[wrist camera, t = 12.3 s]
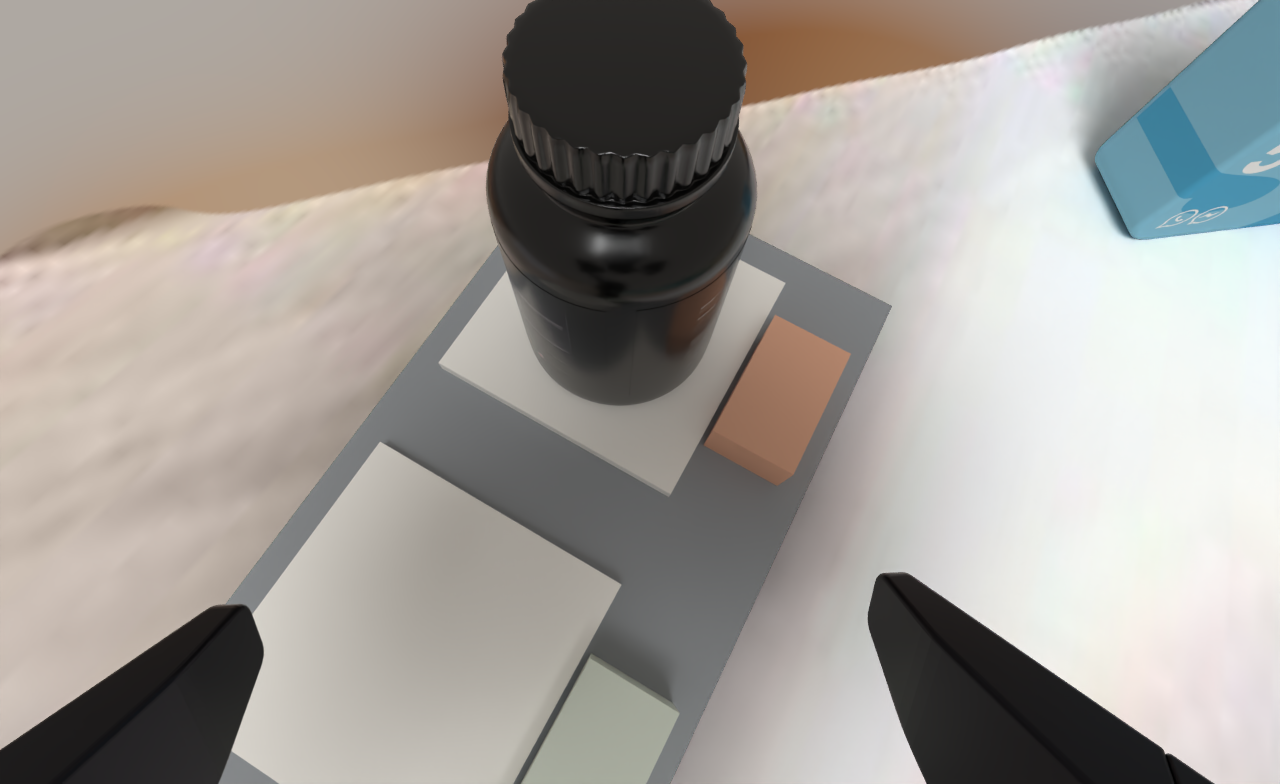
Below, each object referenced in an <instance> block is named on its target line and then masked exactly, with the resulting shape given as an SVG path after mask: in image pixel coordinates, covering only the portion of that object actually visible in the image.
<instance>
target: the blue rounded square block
mask: <svg viewBox="0 0 1280 784" xmlns="http://www.w3.org/2000/svg"><path fill="white" fill-rule="evenodd" d="M1095 163H1096V165H1097V167H1098V169H1099V171H1100V173H1101V175H1102V177H1103V179H1104V181H1105V184H1106V186H1107V188H1108V190H1109V192H1110V194H1111V196H1112V198H1113V200H1114V202H1115V204H1116V206H1117V208H1118V210H1119V212H1120V214H1121V216H1122V218H1123V220H1124V223H1125V225H1126V227H1127V229H1128V231H1129V233H1130V235H1131V236H1132V237H1134V238H1136V239H1154V238H1163V237H1171V236H1179V235H1188V234H1196V233H1204V232H1213V231H1221V230H1229V229H1237V228H1246V227H1254V226H1262V225H1271V224H1279V223H1280V0H1259V1H1258V2H1257V3H1256V4H1255V5H1254V6H1252V7H1251V8H1250V9H1249V10H1248V11H1247V12H1246V13H1245V14H1244V15H1243V16H1242V17H1241V18H1239V19H1238V20H1237V21H1236V22H1235V23H1234V24H1233V25H1232V26H1231V27H1230V28H1229V29H1227V30H1226V31H1225V32H1224V33H1223V34H1222V35H1221V36H1220V37H1219V38H1218V39H1217V40H1215V41H1214V42H1213V43H1212V44H1211V45H1210V46H1209V47H1208V48H1207V49H1206V50H1205V51H1204V52H1202V53H1201V54H1200V55H1199V56H1198V57H1197V58H1196V59H1195V60H1194V61H1193V62H1192V63H1190V64H1189V65H1188V66H1187V67H1186V68H1185V69H1184V70H1183V71H1182V72H1181V73H1180V74H1178V75H1177V76H1176V77H1175V78H1174V79H1173V80H1172V81H1171V82H1170V83H1169V84H1168V85H1167V86H1165V87H1164V88H1163V89H1162V90H1161V91H1160V92H1159V93H1158V94H1157V95H1156V96H1155V97H1153V98H1152V99H1151V100H1150V101H1149V102H1148V103H1147V104H1146V105H1145V106H1144V107H1143V108H1141V109H1140V110H1139V111H1138V112H1137V113H1136V114H1135V115H1134V116H1133V117H1132V118H1131V119H1130V120H1128V121H1127V122H1126V123H1125V124H1124V125H1123V126H1122V127H1121V128H1120V129H1119V130H1118V131H1116V132H1115V133H1114V134H1113V135H1112V136H1111V137H1110V138H1109V139H1108V140H1107V141H1106V142H1105V143H1104V144H1103V145H1102V146H1101V147H1100V148H1099V150H1098V151H1097V153H1096V156H1095Z"/></svg>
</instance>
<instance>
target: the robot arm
mask: <svg viewBox="0 0 1280 784" xmlns="http://www.w3.org/2000/svg"><path fill="white" fill-rule="evenodd" d="M868 626H869V630H870V633H871V636H872V639H873V642H874V645H875V648H876V651H877V654H878V657H879V660H880V663H881V666H882V669H883V672H884V675H885V678H886V681H887V684H888V688H889V691H890V694H891V697H892V700H893V703H894V706H895V709H896V712H897V715H898V717H899V720H900V723H901V726H902V728H903V731H904V734H905V736H906V738H907V741H908V743H909V745H910V748H911V750H912V752H913V755H914V757H915V759H916V761H917V764H918V766H919V768H920V770H921V772H922V775H923V777H924V779H925V781H926V784H1214V783H1213V782H1211V781H1210V780H1208V779H1207V778H1205V777H1204V776H1202V775H1201V774H1199V773H1198V772H1196V771H1195V770H1193V769H1192V768H1191V767H1189V766H1188V765H1186V764H1185V763H1183V762H1182V761H1180V760H1179V759H1177V758H1176V757H1175V756H1173V755H1172V754H1169V753H1168V754H1165V752H1164V750H1163V749H1162V748H1161V747H1160V746H1158V745H1157V744H1155V743H1154V742H1152V741H1151V740H1150V739H1148V738H1147V737H1145V736H1144V735H1142V734H1141V733H1139V732H1138V731H1137V730H1135V729H1134V728H1132V727H1131V726H1129V725H1128V724H1126V723H1125V722H1123V721H1122V720H1121V719H1119V718H1118V717H1116V716H1115V715H1113V714H1112V713H1110V712H1109V711H1108V710H1106V709H1105V708H1103V707H1102V706H1100V705H1099V704H1097V703H1096V702H1094V701H1093V700H1092V699H1090V698H1089V697H1087V696H1086V695H1084V694H1083V693H1081V692H1080V691H1078V690H1077V689H1076V688H1074V687H1073V686H1071V685H1070V684H1068V683H1067V682H1065V681H1064V680H1063V679H1061V678H1060V677H1058V676H1057V675H1055V674H1054V673H1052V672H1051V671H1049V670H1048V669H1047V668H1045V667H1044V666H1042V665H1041V664H1039V663H1038V662H1036V661H1035V660H1033V659H1032V658H1031V657H1029V656H1028V655H1026V654H1025V653H1023V652H1022V651H1020V650H1019V649H1018V648H1016V647H1015V646H1013V645H1012V644H1010V643H1009V642H1007V641H1006V640H1004V639H1003V638H1002V637H1000V636H999V635H997V634H996V633H994V632H993V631H991V630H990V629H989V628H987V627H986V626H984V625H983V624H981V623H980V622H978V621H977V620H975V619H974V618H973V617H971V616H970V615H968V614H967V613H965V612H964V611H962V610H961V609H959V608H958V607H957V606H955V605H954V604H952V603H951V602H949V601H948V600H946V599H945V598H944V597H942V596H941V595H939V594H938V593H936V592H935V591H933V590H932V589H930V588H929V587H928V586H926V585H925V584H923V583H922V582H920V581H919V580H917V579H916V578H915V577H913V576H911V575H910V574H908V573H904V572H898V573H882V574H880V575H879V576H878V577H877V578H876V581H875V585H874V589H873V594H872V598H871V602H870V607H869V611H868ZM263 658H264V646H263V642H262V640H261V637H260V634H259V631H258V629H257V626H256V623H255V620H254V618H253V615H252V612H251V610H250V608H249V607H247V606H246V605H244V604H227V605H216V606H212V607H210V608H209V609H207V610H205V611H204V612H202V613H201V614H199V615H198V616H196V617H195V618H194V619H192V620H191V621H189V622H188V623H186V624H185V625H183V626H182V627H180V628H179V629H177V630H176V631H174V632H173V633H171V634H170V635H169V636H167V637H166V638H164V639H163V640H161V641H160V642H158V643H157V644H155V645H154V646H152V647H151V648H149V649H148V650H146V651H145V652H144V653H142V654H141V655H139V656H138V657H136V658H135V659H133V660H132V661H130V662H129V663H127V664H126V665H124V666H123V667H121V668H120V669H119V670H117V671H116V672H114V673H113V674H111V675H110V676H108V677H107V678H105V679H104V680H102V681H101V682H99V683H98V684H96V685H95V686H94V687H92V688H91V689H89V690H88V691H86V692H85V693H83V694H82V695H80V696H79V697H77V698H76V699H74V700H73V701H71V702H70V703H69V704H67V705H66V706H64V707H63V708H61V709H60V710H58V711H57V712H55V713H54V714H52V715H51V716H49V717H48V718H46V719H45V720H44V721H42V722H41V723H39V724H38V725H36V726H35V727H33V728H32V729H30V730H29V731H27V732H26V733H24V734H23V735H21V736H20V737H19V738H17V739H16V740H14V741H13V742H11V743H10V744H8V745H7V746H5V747H4V748H2V749H1V750H0V784H219V781H220V779H221V777H222V774H223V772H224V769H225V767H226V764H227V761H228V759H229V756H230V753H231V751H232V748H233V745H234V742H235V739H236V736H237V734H238V731H239V728H240V725H241V722H242V719H243V717H244V714H245V711H246V708H247V705H248V703H249V700H250V697H251V694H252V691H253V688H254V686H255V683H256V680H257V677H258V674H259V672H260V669H261V666H262V663H263Z"/></svg>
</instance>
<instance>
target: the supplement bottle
mask: <svg viewBox="0 0 1280 784" xmlns="http://www.w3.org/2000/svg"><path fill="white" fill-rule="evenodd" d="M502 62H503V67H504V71H503V83H504V88H505V93H506V98H507V102H508V107H509V120H508V121H507V123H506V124H505V126H504V127H503V129H502V131H501V132H500V134H499V136H498V138H497V140H496V143H495V145H494V148H493V150H492V153H491V157H490V160H489V163H488V170H487V177H486V196H487V204H488V209H489V214H490V218H491V223H492V226H493V229H494V233H495V236H496V239H497V242H498V245H499V248H500V251H501V255H502V258H503V261H504V264H505V267H506V270H507V273H508V276H509V280H510V283H511V286H512V289H513V292H514V295H515V298H516V302H517V305H518V308H519V311H520V314H521V317H522V320H523V323H524V327H525V330H526V333H527V336H528V339H529V341H530V344H531V347H532V349H533V351H534V354H535V356H536V357H537V359H538V361H539V363H540V364H541V366H542V367H543V368H544V370H545V371H546V372H547V373H548V375H549V376H550V377H551V378H552V379H553V380H554V381H555V382H557V383H558V384H559V385H560V386H562V387H563V388H564V389H566V390H567V391H569V392H571V393H572V394H574V395H576V396H578V397H580V398H583V399H586V400H588V401H591V402H595V403H599V404H605V405H614V406H626V405H635V404H640V403H645V402H648V401H651V400H654V399H657V398H659V397H661V396H663V395H665V394H667V393H669V392H671V391H672V390H674V389H675V388H677V387H678V386H679V385H680V384H682V383H683V382H684V381H685V380H686V379H687V378H688V377H689V376H690V375H691V374H692V372H693V371H694V370H695V368H696V367H697V366H698V364H699V362H700V361H701V359H702V357H703V355H704V353H705V351H706V349H707V346H708V344H709V342H710V339H711V336H712V334H713V331H714V328H715V325H716V323H717V320H718V317H719V315H720V312H721V309H722V306H723V304H724V301H725V298H726V296H727V293H728V290H729V287H730V285H731V282H732V279H733V277H734V274H735V271H736V268H737V266H738V263H739V260H740V258H741V255H742V252H743V249H744V247H745V244H746V241H747V238H748V235H749V233H750V230H751V226H752V222H753V218H754V214H755V209H756V201H757V181H756V173H755V169H754V165H753V161H752V157H751V154H750V152H749V149H748V146H747V144H746V142H745V140H744V138H743V136H742V134H741V132H740V131H739V129H738V128H739V113H740V109H741V105H742V102H743V97H744V94H745V89H746V80H745V75H746V71H747V62H746V60H745V58H744V56H743V44H742V43H741V41H740V40H739V39H738V38H737V37H736V28H735V27H734V26H733V25H732V24H731V23H729V22H728V21H727V20H726V16H725V14H724V12H723V11H721V10H719V9H718V8H716V7H714V6H713V4H712V3H711V1H710V0H535V1H533V2H531V3H529V4H528V5H527V7H526V9H525V12H524V13H523V14H521V15H520V16H518V17H517V18H516V19H515V23H514V28H513V29H512V30H511V31H510V32H509V34H508V35H507V47H506V48H505V50H504V52H503V54H502Z"/></svg>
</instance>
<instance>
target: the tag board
mask: <svg viewBox="0 0 1280 784" xmlns="http://www.w3.org/2000/svg"><path fill="white" fill-rule="evenodd" d="M891 307H892V306H891V305H889V304H887V303H885V302H883V301H881V300H879V299H877V298H875V297H873V296H871V295H869V294H867V293H865V292H863V291H861V290H859V289H857V288H855V287H853V286H851V285H849V284H847V283H845V282H843V281H841V280H839V279H837V278H835V277H833V276H831V275H829V274H827V273H825V272H823V271H821V270H819V269H817V268H815V267H814V266H812V265H810V264H808V263H806V262H804V261H802V260H800V259H798V258H796V257H794V256H792V255H790V254H788V253H786V252H784V251H782V250H780V249H778V248H776V247H774V246H772V245H770V244H768V243H766V242H764V241H762V240H760V239H758V238H756V237H754V236H752V235H750V234H749V235H748V238H747V241H746V244H745V247H744V249H743V252H742V255H741V258H740V260H739V263H738V266H737V268H736V271H735V274H734V277H733V279H732V282H731V285H730V287H729V290H728V293H727V296H726V298H725V301H724V304H723V306H722V309H721V312H720V315H719V317H718V320H717V323H716V325H715V328H714V331H713V334H712V336H711V339H710V342H709V344H708V346H707V349H706V351H705V353H704V355H703V357H702V359H701V361H700V362H699V364H698V366H697V367H696V368H695V370H694V371H693V372H692V374H691V375H690V376H689V377H688V378H687V379H686V380H685V381H684V382H683V383H682V384H680V385H679V386H678V387H677V388H675V389H674V390H672V391H671V392H669V393H667V394H665V395H663V396H661V397H659V398H657V399H654V400H651V401H648V402H645V403H640V404H635V405H626V406H614V405H605V404H599V403H595V402H591V401H588V400H586V399H583V398H580V397H578V396H576V395H574V394H572V393H571V392H569V391H567V390H566V389H564V388H563V387H562V386H560V385H559V384H558V383H557V382H555V381H554V380H553V379H552V378H551V377H550V376H549V375H548V373H547V372H546V371H545V370H544V368H543V367H542V366H541V364H540V363H539V361H538V359H537V357H536V356H535V354H534V351H533V349H532V347H531V344H530V341H529V339H528V336H527V333H526V330H525V327H524V323H523V320H522V317H521V314H520V311H519V308H518V305H517V302H516V298H515V295H514V292H513V289H512V286H511V283H510V280H509V276H508V273H507V270H506V267H505V264H504V261H503V258H502V255H501V251H500V248H499V245H498V246H497V247H496V248H495V250H494V251H493V252H492V254H491V255H490V256H489V258H488V259H487V260H486V262H485V263H484V264H483V266H482V267H481V268H480V269H479V271H478V272H477V273H476V275H475V276H474V277H473V279H472V280H471V281H470V283H469V284H468V285H467V287H466V288H465V289H464V291H463V292H462V293H461V295H460V296H459V297H458V298H457V300H456V301H455V302H454V304H453V305H452V306H451V308H450V309H449V310H448V312H447V313H446V314H445V316H444V317H443V318H442V320H441V321H440V322H439V324H438V325H437V326H436V327H435V329H434V330H433V331H432V333H431V334H430V335H429V337H428V338H427V339H426V341H425V342H424V343H423V345H422V346H421V347H420V349H419V350H418V351H417V353H416V354H415V355H414V356H413V358H412V359H411V360H410V362H409V363H408V364H407V366H406V367H405V368H404V370H403V371H402V372H401V374H400V375H399V376H398V378H397V379H396V380H395V382H394V383H393V384H392V385H391V387H390V388H389V389H388V391H387V392H386V393H385V395H384V396H383V397H382V399H381V400H380V401H379V403H378V404H377V405H376V407H375V408H374V409H373V410H372V412H371V413H370V414H369V416H368V417H367V418H366V420H365V421H364V422H363V424H362V425H361V426H360V428H359V429H358V430H357V432H356V433H355V434H354V436H353V437H352V438H351V439H350V441H349V442H348V443H347V445H346V446H345V447H344V449H343V450H342V451H341V453H340V454H339V455H338V457H337V458H336V459H335V461H334V462H333V463H332V465H331V466H330V467H329V468H328V470H327V471H326V472H325V474H324V475H323V476H322V478H321V479H320V480H319V482H318V483H317V484H316V486H315V487H314V488H313V490H312V491H311V492H310V494H309V495H308V496H307V497H306V499H305V500H304V501H303V503H302V504H301V505H300V507H299V508H298V509H297V511H296V512H295V513H294V515H293V516H292V517H291V519H290V520H289V521H288V523H287V524H286V525H285V526H284V528H283V529H282V530H281V532H280V533H279V534H278V536H277V537H276V538H275V540H274V541H273V542H272V544H271V545H270V546H269V548H268V549H267V550H266V552H265V553H264V554H263V555H262V557H261V558H260V559H259V561H258V562H257V563H256V565H255V566H254V567H253V569H252V570H251V571H250V573H249V574H248V575H247V577H246V578H245V579H244V580H243V582H242V583H241V584H240V586H239V587H238V588H237V590H236V591H235V592H234V594H233V595H232V596H231V598H230V599H229V600H228V602H227V603H226V604H225V605H227V604H244V605H246V606H247V607H249V608H250V610H251V612H252V615H253V618H254V620H255V623H256V626H257V629H258V631H259V634H260V637H261V640H262V642H263V646H264V658H263V663H262V666H261V669H260V672H259V674H258V677H257V680H256V683H255V686H254V688H253V691H252V694H251V697H250V700H249V703H248V705H247V708H246V711H245V714H244V717H243V719H242V722H241V725H240V728H239V731H238V734H237V736H236V739H235V742H234V745H233V748H232V751H231V753H230V756H229V759H228V761H227V764H226V767H225V769H224V772H223V774H222V777H221V779H220V781H219V784H670V783H671V781H672V779H673V777H674V774H675V772H676V770H677V768H678V766H679V764H680V762H681V759H682V757H683V755H684V753H685V751H686V749H687V746H688V744H689V742H690V740H691V738H692V736H693V734H694V731H695V729H696V727H697V725H698V723H699V721H700V718H701V716H702V714H703V712H704V710H705V708H706V706H707V703H708V701H709V699H710V697H711V695H712V693H713V690H714V688H715V686H716V684H717V682H718V680H719V678H720V675H721V673H722V671H723V669H724V667H725V665H726V662H727V660H728V658H729V656H730V654H731V652H732V650H733V647H734V645H735V643H736V641H737V639H738V637H739V635H740V632H741V630H742V628H743V626H744V624H745V622H746V619H747V617H748V615H749V613H750V611H751V609H752V607H753V604H754V602H755V600H756V598H757V596H758V594H759V591H760V589H761V587H762V585H763V583H764V581H765V579H766V576H767V574H768V572H769V570H770V568H771V566H772V563H773V561H774V559H775V557H776V555H777V553H778V551H779V548H780V546H781V544H782V542H783V540H784V538H785V535H786V533H787V531H788V529H789V527H790V525H791V523H792V520H793V518H794V516H795V514H796V512H797V510H798V508H799V505H800V503H801V501H802V499H803V497H804V495H805V492H806V490H807V488H808V486H809V484H810V482H811V480H812V477H813V475H814V473H815V471H816V469H817V467H818V464H819V462H820V460H821V458H822V456H823V454H824V452H825V449H826V447H827V445H828V443H829V441H830V439H831V436H832V434H833V432H834V430H835V428H836V426H837V424H838V421H839V419H840V417H841V415H842V413H843V411H844V408H845V406H846V404H847V402H848V400H849V398H850V396H851V393H852V391H853V389H854V387H855V385H856V383H857V381H858V378H859V376H860V374H861V372H862V370H863V368H864V365H865V363H866V361H867V359H868V357H869V355H870V353H871V350H872V348H873V346H874V344H875V342H876V340H877V337H878V335H879V333H880V331H881V329H882V327H883V325H884V322H885V320H886V318H887V316H888V314H889V312H890V309H891Z"/></svg>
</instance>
